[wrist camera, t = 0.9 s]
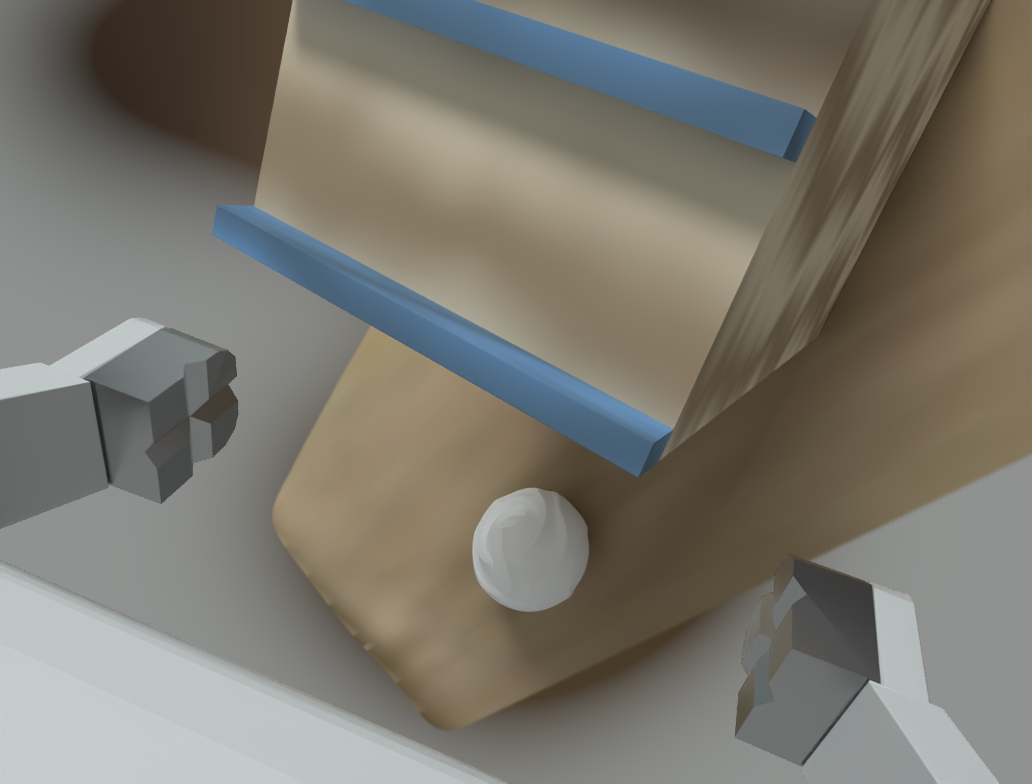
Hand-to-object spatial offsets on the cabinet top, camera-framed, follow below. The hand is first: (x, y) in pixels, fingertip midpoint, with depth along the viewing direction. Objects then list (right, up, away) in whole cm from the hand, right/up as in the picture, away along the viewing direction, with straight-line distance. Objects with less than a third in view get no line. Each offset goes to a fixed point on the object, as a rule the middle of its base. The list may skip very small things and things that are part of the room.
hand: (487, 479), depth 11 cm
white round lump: (+3, -8, +42) cm, 43 cm away
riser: (+13, +16, +31) cm, 37 cm away
